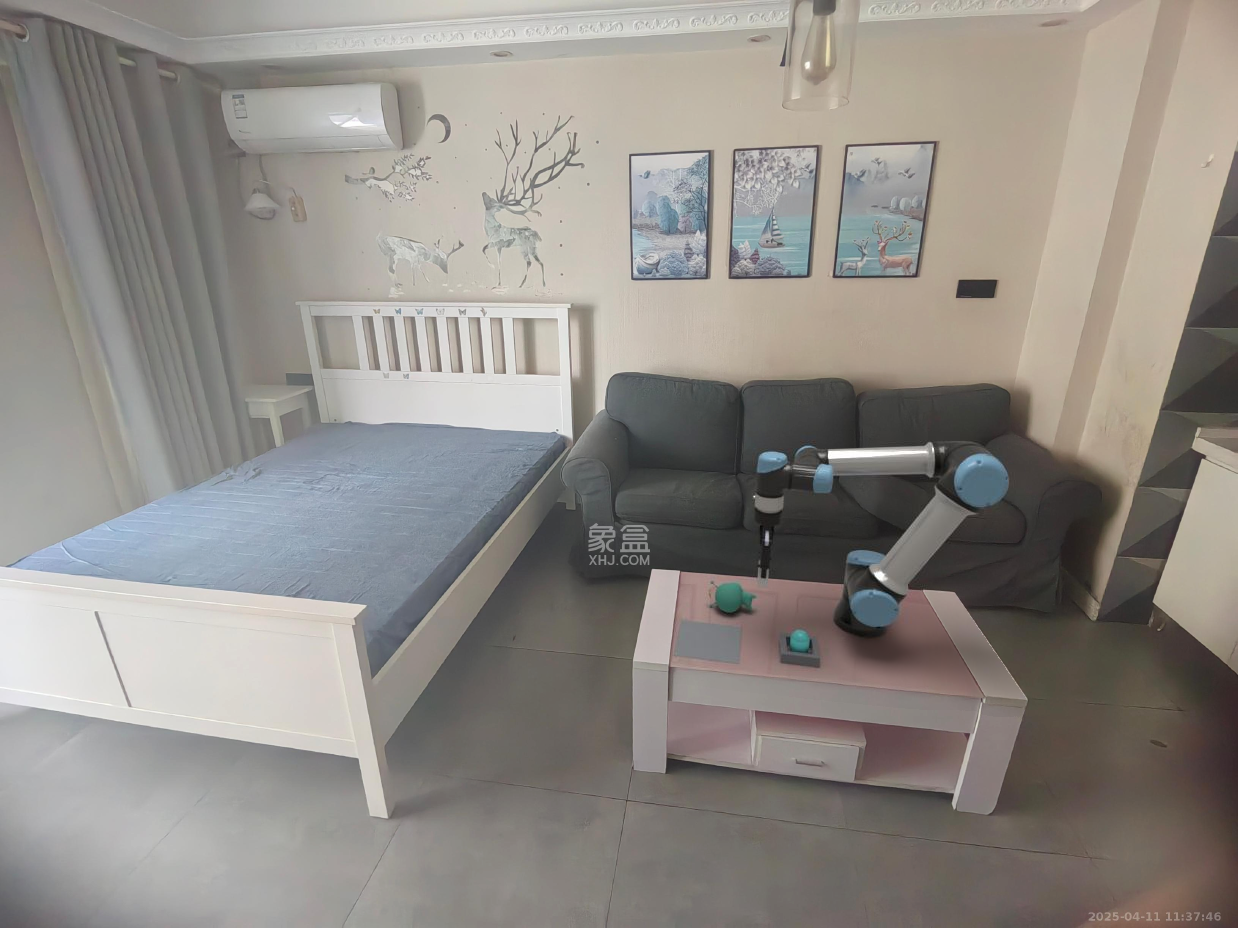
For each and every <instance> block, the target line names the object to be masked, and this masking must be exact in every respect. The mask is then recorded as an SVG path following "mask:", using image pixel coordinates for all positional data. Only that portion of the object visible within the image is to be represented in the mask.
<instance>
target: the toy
mask: <svg viewBox="0 0 1238 928" xmlns="http://www.w3.org/2000/svg"><path fill="white" fill-rule="evenodd" d="M709 583H710V584H712V585H714V587H716V590H715V594H714V601H715V602H713V603H710V604H709V607H710V608H712V607H713V605H717V607H718V608H719V609H720V610H721V611H722V612H725V613H729V614H730V613H734V612H736V611H738V610H739V608H741V606H744V607H745V608H746V609H748V610H749V611H750V612H753V610H754V608H753V607H752V603H753V599H756V598H757V595H755V594H753V593H750V592H746V591H745V589H743V587H742V585H741V583H740V582H738V581H730V582H724V583H721V584H719V585H716V584H715V582H714V580H711V581H710V582H709ZM707 591H708V596H709V599H710V600H711V599H712V597H711V596H712V593H711V591H712V589H711V588H709V589H708V590H707Z"/></svg>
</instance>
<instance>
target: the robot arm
mask: <svg viewBox="0 0 1238 928" xmlns="http://www.w3.org/2000/svg"><path fill="white" fill-rule="evenodd" d="M787 456H788V455H786V454H784V453H782V452H777V451H765V452H763V453H761V454H759V456H758V459H757V468H756V478H755V479H756V482H755V495H753V496H752V499H753V500H754V509H753V521H754V523H756V524H758V525H759V526H758V527H759V529H758V531H759V545H760V546H759V552H758V554H759V556H758V558H759V560H758V564H756V568H758V569H757V587H758V588H764V589H765V588H767V589H768V585H769V584H768V583H769V582H768V581H769V573H770V571H769V570H770V563H771V562H770V561H772V556H771V549H772V545H773V538H774V536H775V527H776V526H778V525H780V524H781V523H782V520H783V508H784V500H785V499H784V498H785V490H786V491H794V492H795V491H797V492H805V493H815V494H828V493H830V492H831V491H832V489H833V488H832V487H833V483H834V476H880V475H881V476H882V475H886V476H887V475H926V476H927V477H929V478H932V479H933V478H940V479H939V480H938V481H937V482H936V484H935V485H934V491H935V495H934V497H933V498H932V499H931V500H930V501H929V503H927V505H926V506H925V507H924V509H922V511H921V512H920V513H919V515H918V516H917V517H916V518H915V520H913V522H912V523H911V524H910V526H909V527H907V529H906V531H905V532H904V533H902V535H901V537H900V538H899V539H898V540H897V541H896V543H895V544H894V545H893V546H892V548H891V549H890V550H889V552H888V553H887V554H886V555H885V554H883V553H879V552H876V551H872V550H865V549H863V550H862V549H861V550H860V549H857V550H853V551H850V552H849V553H848V554H847V556H846V560H845V573H844V579H843V581H844V582H843V587H842V588H843V589H842V596H841V598H840V600H839V602H838V604H836V606H835V609H834V611H833V623H834V624H835V625H836V626H837V627H838V628H839V629H840V630H842V631H843V632H846V633H847V634H850V635H853V636H857V637H861V638H876V637H880V636H883V635H884V634H885V633H886V632H887V628H888V626H889V625H891V624H893V623H894V621H896V619H897V618H898V616H899V611H900V607H899V605H900V604H901V603H902V602H903V600H904V599H905V598H906V597H907V595H909V593H910V591H909V586H908V584H910V582H911V581H912V580H913V579H914V578H915V576H916V575H917V574H918V573H919V572H920V571H921V569H922V568H923V567H924V566H925V565H926V564H927V562H928V561H929V560H930V559H931V558H932V556H934V554H936V552H937V551H938V549H940V547H942V545H943V544H944V543H945V541H946V540H947V539H948V538H949V537H950V536H951V535H952V534H953V532H954V531H955V530H956V529H957V528H958V527H959V525H960V524H961V523H962V522H963V521H964V519H965V518H967V516H972V515H974V516H975V515H978V514H979V513H980V512H981V511H982V510H983V508H985V507H988V506H993V505H995V504H997V503H998V502H1000V501H1001V500H1002V499H1003V498H1004V497H1005V495H1006V494H1007V491H1008V489H1009V486H1010V479H1009V478H1010V477H1009V474H1008V472H1007V469H1006V468H1005V466H1004V464H1003V463H1002V462H1001V460H999V459H998V458H997V457H995V455H993V454H992V453H991V452H990V451H989V449H987V448H986V447H985V446H983V445H981V444H979V443H976V442H973V441H967V440H966V441H965V440H952V441H950V440H949V441H947V440H946V441H929V442H927V443H926V444H925V445H918V446H917V445H915V446H888V447H887V446H884V447H882V446H881V447H858V448H857V447H856V448H833V449H831V448H829V449H827V448H824V449H820V448H816V447H814V446H812V445H805V446H803V447H801V448H799V449H798V450H797V452H796V453H795V456H794V459H793V462H791V461H788V457H787Z"/></svg>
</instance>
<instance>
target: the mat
mask: <svg viewBox="0 0 1238 928" xmlns="http://www.w3.org/2000/svg"><path fill="white" fill-rule="evenodd" d="M741 637H742V626H738V625H729V624H721V623H713V622H701V621H693V620H685V619H684V620H683V619H681V620H680V625H679V629H678V634H677V639H676V642H675V647H674V652H673V656H674V657H681V658H687V659H696V660H703V661H710V662H711V661H713V662H719V663H726V664H727V663H728V664H735V665H740V659H741V658H740V655H741V639H742V638H741Z"/></svg>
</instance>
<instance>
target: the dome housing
mask: <svg viewBox="0 0 1238 928" xmlns="http://www.w3.org/2000/svg"><path fill="white" fill-rule="evenodd" d="M791 634H792V633H785V632H779V654H780V656H779V658H780V663H781V664H787V665H793V666H794V665H796V666H801V667H802V666H803V667H809V668H810V667H813V668H819V667H820V662H821V661H820V660H821V658H820V657H821V656H820V650H819V643H818V637H817V636H811V635H808V636H809V638H810V641H809V649H810V653H808V654H806V653H798V652H789V651H788V648H787V647H788V646H789V647H790V640H791Z"/></svg>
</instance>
